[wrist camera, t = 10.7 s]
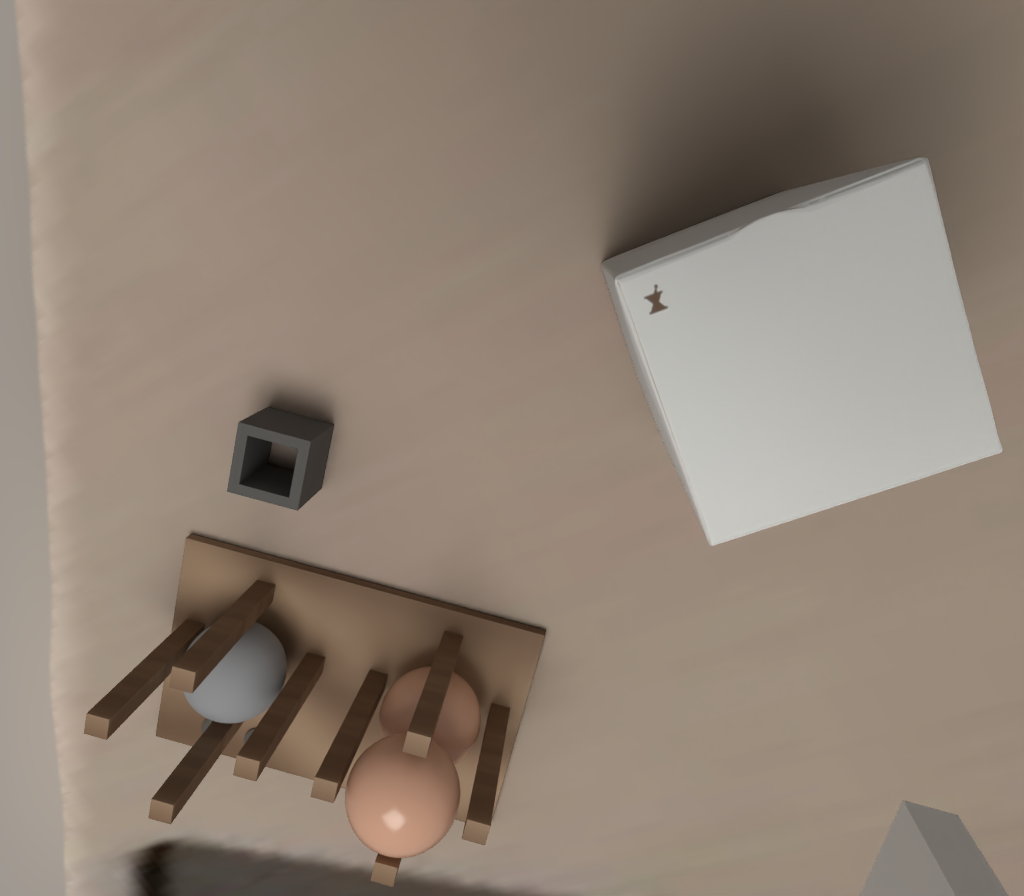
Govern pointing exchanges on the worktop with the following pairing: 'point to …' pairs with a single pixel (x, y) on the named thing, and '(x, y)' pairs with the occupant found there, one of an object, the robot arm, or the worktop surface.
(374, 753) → the ball loose
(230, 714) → the ball
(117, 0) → the worktop surface
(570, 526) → the worktop surface
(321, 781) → the rack
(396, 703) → the ball
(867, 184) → the supplement box
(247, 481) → the stand
